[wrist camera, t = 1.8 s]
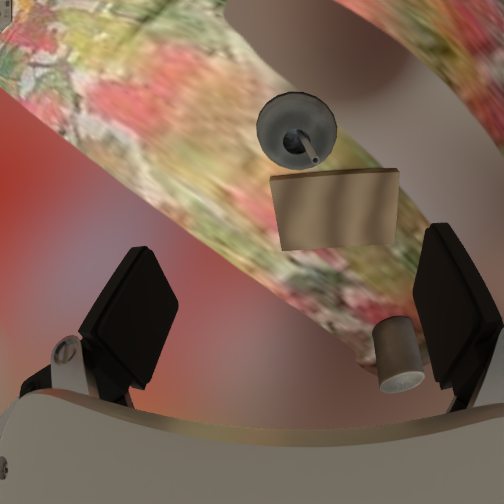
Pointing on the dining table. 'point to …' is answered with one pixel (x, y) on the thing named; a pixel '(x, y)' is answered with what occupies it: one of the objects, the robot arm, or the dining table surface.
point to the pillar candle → (397, 355)
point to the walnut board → (336, 208)
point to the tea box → (5, 13)
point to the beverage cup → (296, 130)
